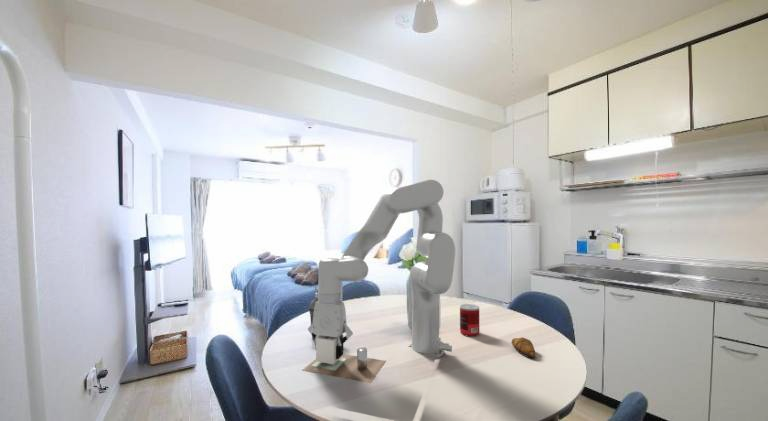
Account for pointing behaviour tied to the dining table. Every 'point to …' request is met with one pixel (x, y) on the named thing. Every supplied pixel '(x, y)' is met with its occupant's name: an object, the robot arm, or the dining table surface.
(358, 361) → the post
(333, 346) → the white cardboard box
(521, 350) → the croissant
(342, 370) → the board
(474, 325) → the canned food
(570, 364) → the dining table surface
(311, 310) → the beverage cup
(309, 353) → the dining table surface
